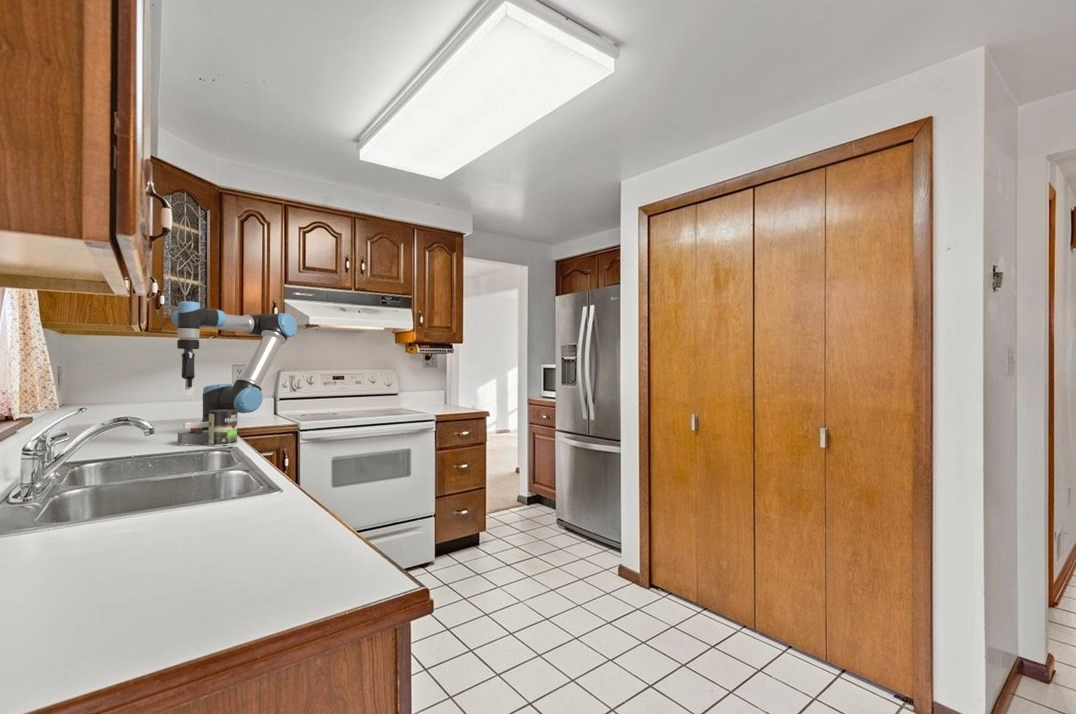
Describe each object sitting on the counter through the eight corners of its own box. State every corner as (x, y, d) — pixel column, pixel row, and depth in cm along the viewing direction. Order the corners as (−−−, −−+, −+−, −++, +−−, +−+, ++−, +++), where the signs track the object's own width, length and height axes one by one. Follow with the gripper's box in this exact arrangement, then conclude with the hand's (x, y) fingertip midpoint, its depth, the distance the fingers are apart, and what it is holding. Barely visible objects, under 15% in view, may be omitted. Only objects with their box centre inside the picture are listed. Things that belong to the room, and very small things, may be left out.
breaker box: (177, 441, 220) (177, 427, 220) (210, 439, 228) (211, 425, 228) (182, 445, 210) (182, 430, 210) (216, 442, 218) (216, 428, 218)
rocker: (183, 427, 215) (183, 422, 215) (211, 425, 222) (211, 420, 222) (184, 428, 212) (184, 423, 212) (213, 426, 219) (213, 421, 219)
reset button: (189, 432, 222) (189, 423, 222) (200, 432, 224) (200, 423, 224) (191, 433, 219) (191, 424, 219) (202, 433, 221) (202, 423, 221)
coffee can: (243, 443, 218) (243, 409, 218) (223, 447, 208) (224, 411, 208) (222, 442, 220) (222, 408, 221) (201, 446, 210) (202, 410, 210)
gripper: (174, 339, 220) (173, 393, 220) (181, 338, 204) (180, 396, 204) (195, 340, 225) (194, 393, 225) (203, 338, 209) (202, 395, 209)
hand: (187, 394), depth 214 cm, fingers open, 8 cm apart
